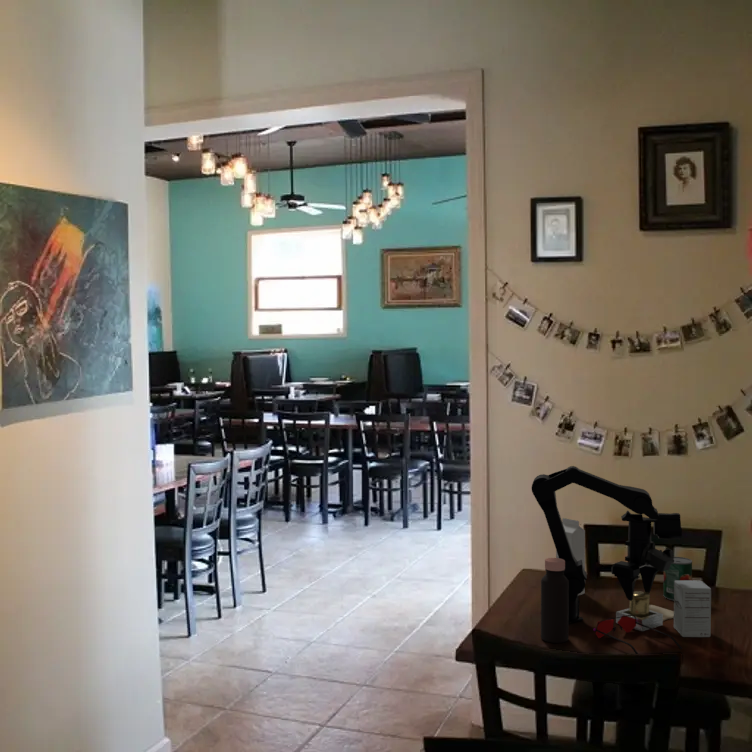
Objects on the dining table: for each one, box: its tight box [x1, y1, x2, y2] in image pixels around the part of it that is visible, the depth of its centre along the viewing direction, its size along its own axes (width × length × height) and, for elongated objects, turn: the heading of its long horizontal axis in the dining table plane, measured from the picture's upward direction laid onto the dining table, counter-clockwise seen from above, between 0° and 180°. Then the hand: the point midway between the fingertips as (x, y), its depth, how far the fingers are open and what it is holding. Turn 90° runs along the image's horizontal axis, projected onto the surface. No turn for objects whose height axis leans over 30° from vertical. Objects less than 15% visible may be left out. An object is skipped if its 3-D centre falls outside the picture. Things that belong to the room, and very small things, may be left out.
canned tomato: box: [662, 556, 693, 602], centre depth 261 cm, size 8×8×11 cm
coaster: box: [649, 604, 674, 622], centre depth 246 cm, size 10×10×1 cm
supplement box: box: [673, 579, 712, 638], centre depth 230 cm, size 7×7×13 cm
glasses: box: [593, 615, 683, 655], centre depth 223 cm, size 14×16×5 cm
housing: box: [615, 607, 664, 632], centre depth 237 cm, size 8×8×3 cm
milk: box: [555, 517, 586, 596], centre depth 265 cm, size 6×6×22 cm
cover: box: [629, 590, 651, 618], centre depth 237 cm, size 5×5×8 cm
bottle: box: [540, 557, 570, 644], centre depth 226 cm, size 7×7×20 cm
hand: (638, 596), depth 237 cm, fingers open, 9 cm apart
